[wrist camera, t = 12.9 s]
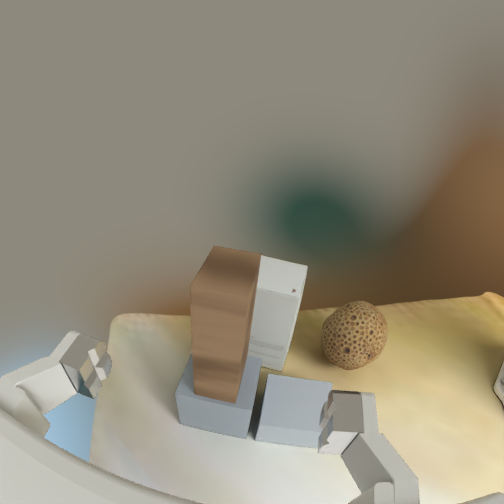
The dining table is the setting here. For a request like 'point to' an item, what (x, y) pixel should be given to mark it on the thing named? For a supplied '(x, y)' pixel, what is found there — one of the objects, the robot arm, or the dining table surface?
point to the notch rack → (272, 410)
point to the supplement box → (275, 310)
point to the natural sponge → (354, 335)
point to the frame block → (222, 321)
